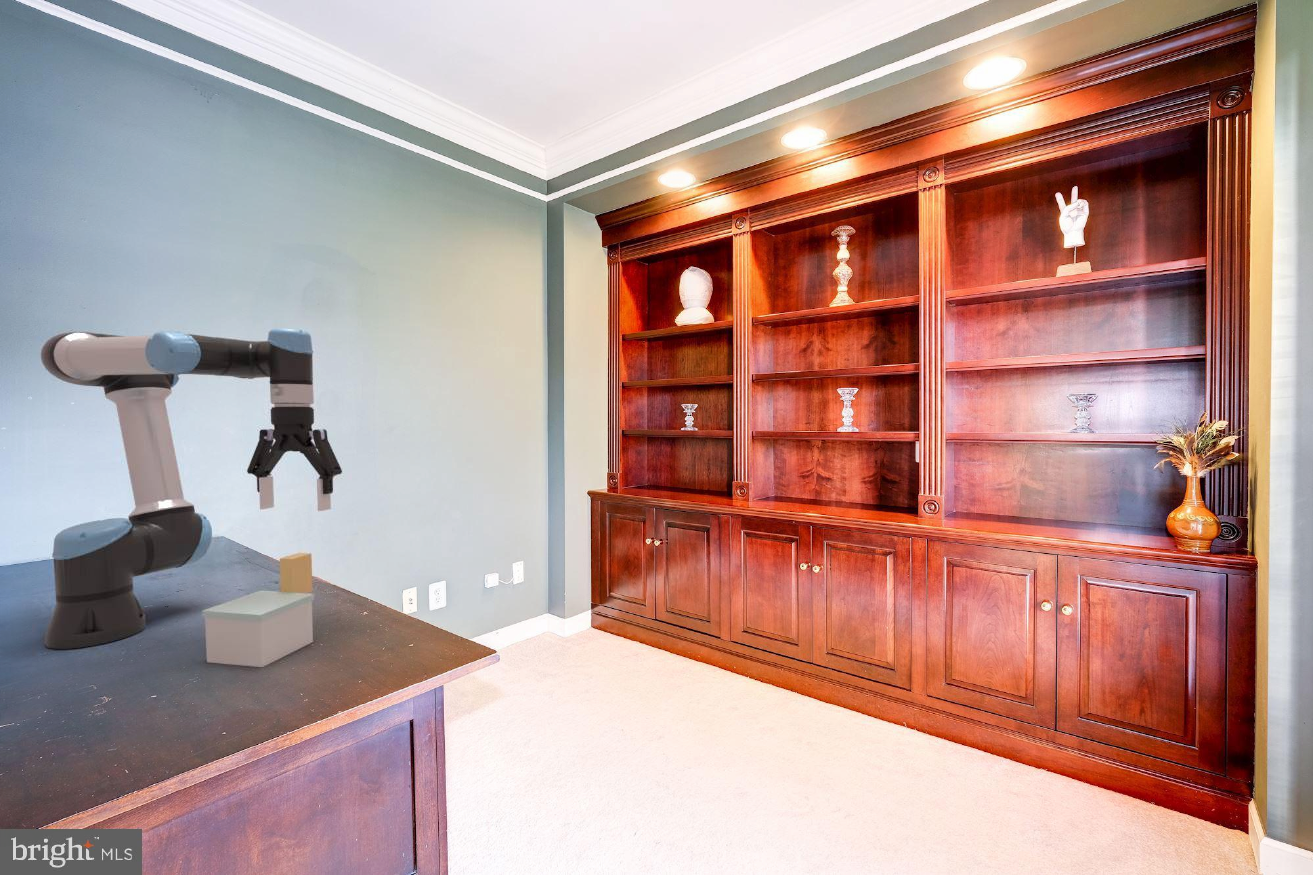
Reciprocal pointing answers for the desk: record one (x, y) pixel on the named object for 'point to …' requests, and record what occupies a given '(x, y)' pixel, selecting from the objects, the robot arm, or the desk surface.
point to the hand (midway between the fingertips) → (295, 509)
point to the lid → (272, 594)
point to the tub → (258, 637)
